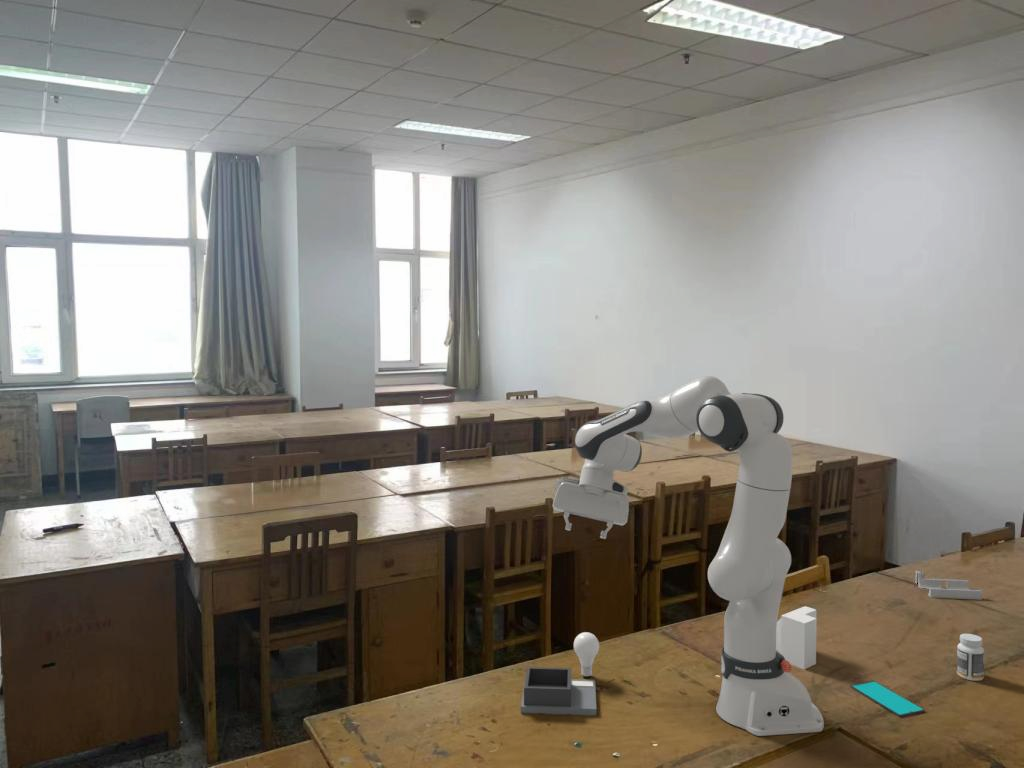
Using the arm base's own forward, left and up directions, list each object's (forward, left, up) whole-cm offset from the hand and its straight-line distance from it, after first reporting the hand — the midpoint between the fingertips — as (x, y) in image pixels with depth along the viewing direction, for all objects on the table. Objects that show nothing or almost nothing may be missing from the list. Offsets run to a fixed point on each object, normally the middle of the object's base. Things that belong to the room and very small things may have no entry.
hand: (585, 534), depth 196 cm
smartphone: (-69, +20, -33) cm, 79 cm away
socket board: (+7, +25, -33) cm, 42 cm away
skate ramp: (-118, -55, -33) cm, 134 cm away
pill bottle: (-94, +7, -33) cm, 100 cm away
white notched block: (-55, -2, -33) cm, 64 cm away
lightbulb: (0, +13, -33) cm, 35 cm away
